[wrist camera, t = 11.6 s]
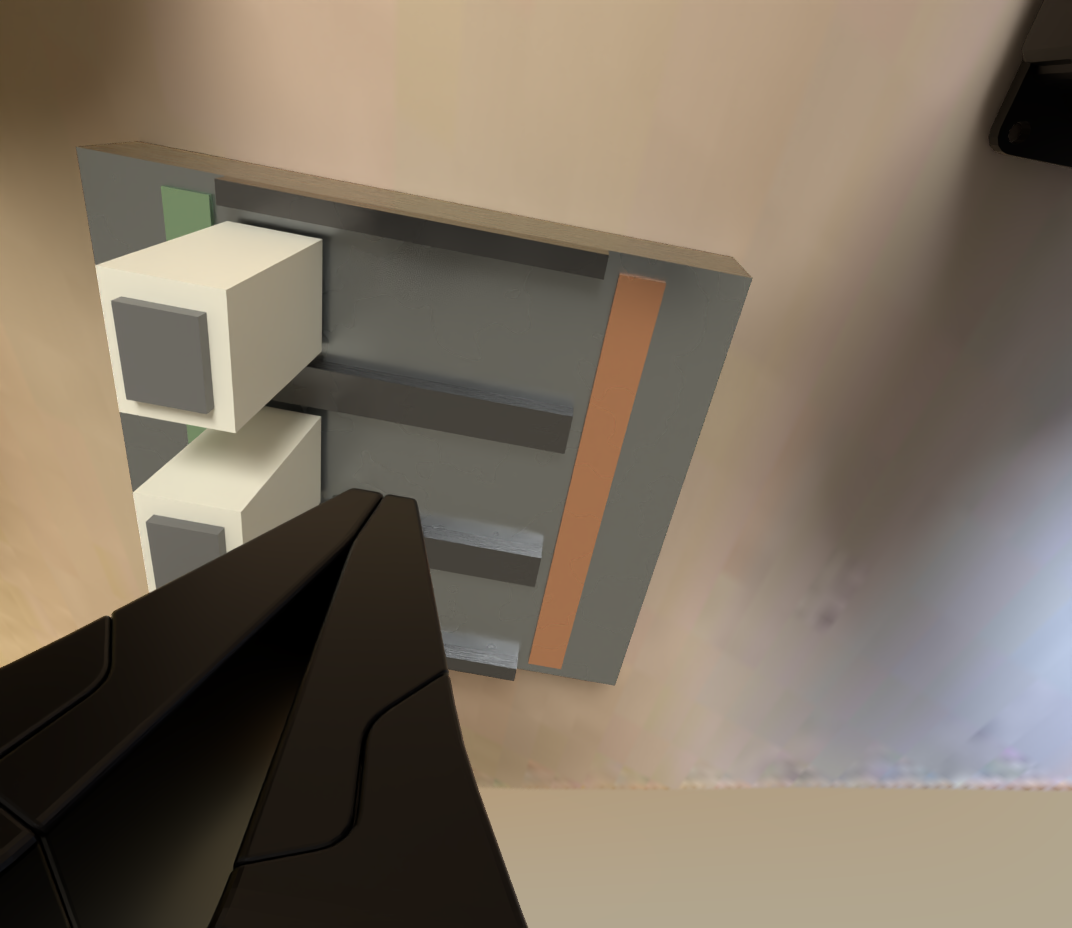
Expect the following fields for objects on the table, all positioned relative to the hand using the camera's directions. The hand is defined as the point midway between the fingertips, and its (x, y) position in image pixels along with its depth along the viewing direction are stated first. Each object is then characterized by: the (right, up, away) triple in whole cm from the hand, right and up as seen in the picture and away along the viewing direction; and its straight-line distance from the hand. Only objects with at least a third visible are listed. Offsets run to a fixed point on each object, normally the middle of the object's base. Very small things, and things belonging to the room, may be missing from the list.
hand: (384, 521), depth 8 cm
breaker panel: (-2, +2, +14) cm, 14 cm away
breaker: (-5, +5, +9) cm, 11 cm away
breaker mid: (-6, +1, +11) cm, 12 cm away
